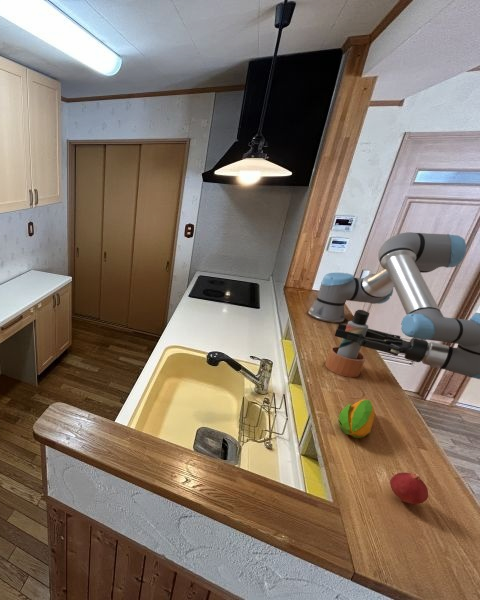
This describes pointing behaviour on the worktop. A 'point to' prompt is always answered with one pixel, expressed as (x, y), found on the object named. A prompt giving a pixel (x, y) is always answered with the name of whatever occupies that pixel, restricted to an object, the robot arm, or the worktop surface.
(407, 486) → the onion
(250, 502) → the worktop surface
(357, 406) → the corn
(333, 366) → the bowl
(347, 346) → the lotion bottle
